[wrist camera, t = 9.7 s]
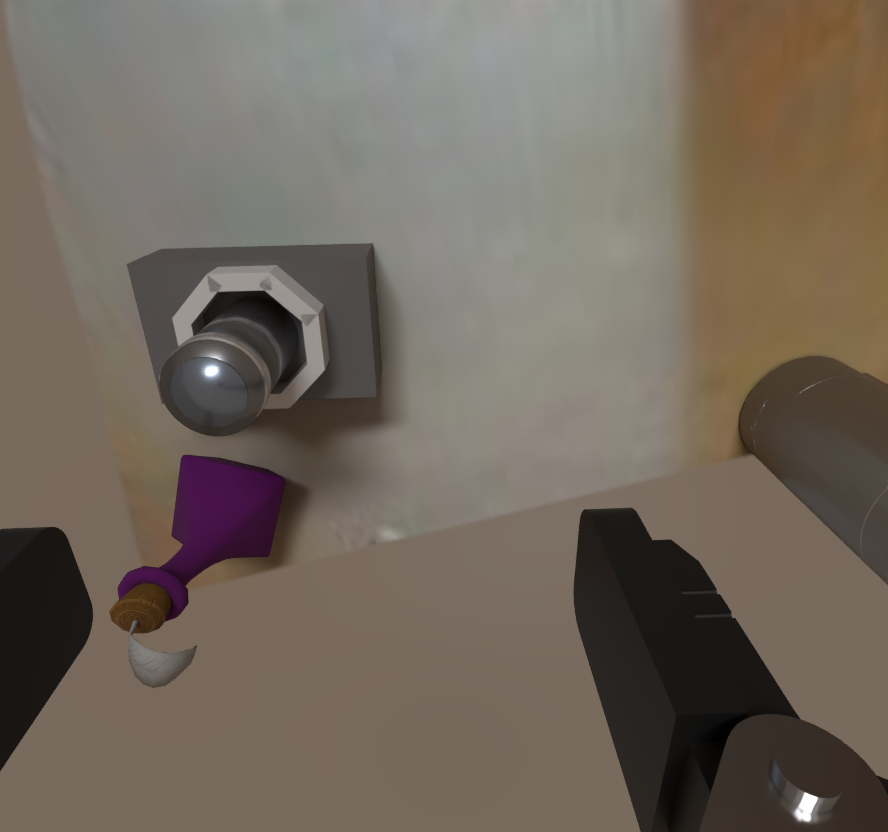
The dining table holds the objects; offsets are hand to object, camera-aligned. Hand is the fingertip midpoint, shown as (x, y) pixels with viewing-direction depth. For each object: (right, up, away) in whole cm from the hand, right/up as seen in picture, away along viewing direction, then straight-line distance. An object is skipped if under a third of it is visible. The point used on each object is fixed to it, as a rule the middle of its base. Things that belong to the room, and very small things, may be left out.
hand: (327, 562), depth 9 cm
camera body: (-10, +10, +32) cm, 34 cm away
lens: (-10, +7, +27) cm, 30 cm away
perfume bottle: (-15, -3, +38) cm, 41 cm away
